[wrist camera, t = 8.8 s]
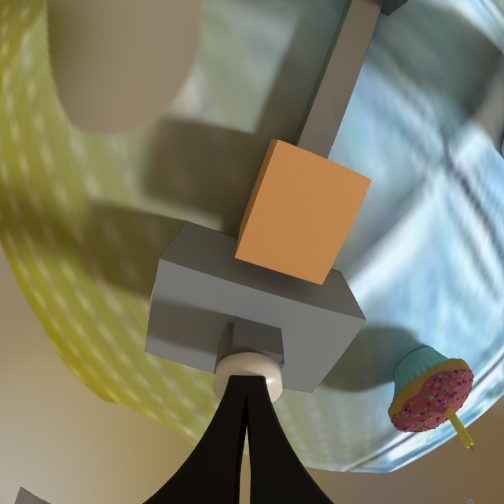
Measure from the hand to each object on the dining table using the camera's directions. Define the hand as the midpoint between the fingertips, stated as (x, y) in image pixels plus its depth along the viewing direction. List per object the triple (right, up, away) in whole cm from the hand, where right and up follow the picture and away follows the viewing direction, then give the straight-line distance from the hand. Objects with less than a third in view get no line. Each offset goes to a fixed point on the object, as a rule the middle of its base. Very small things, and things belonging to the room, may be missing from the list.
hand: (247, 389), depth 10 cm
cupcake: (+16, -5, +11) cm, 20 cm away
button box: (0, +3, +7) cm, 8 cm away
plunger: (0, +1, +2) cm, 3 cm away
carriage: (+2, +9, +5) cm, 10 cm away
